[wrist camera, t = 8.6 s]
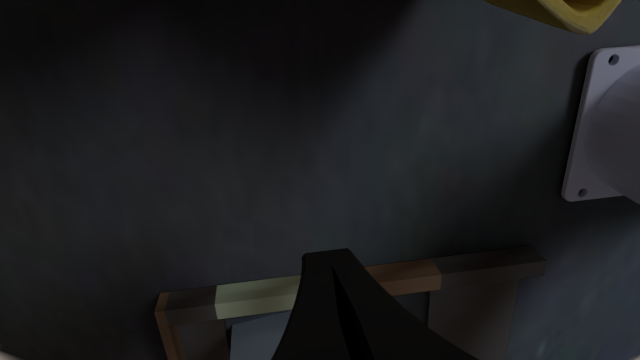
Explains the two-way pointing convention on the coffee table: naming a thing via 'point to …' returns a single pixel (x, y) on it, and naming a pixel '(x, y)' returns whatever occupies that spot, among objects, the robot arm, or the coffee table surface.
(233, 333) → the block
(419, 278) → the trap lane
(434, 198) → the coffee table surface
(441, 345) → the robot arm
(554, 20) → the flower pot
